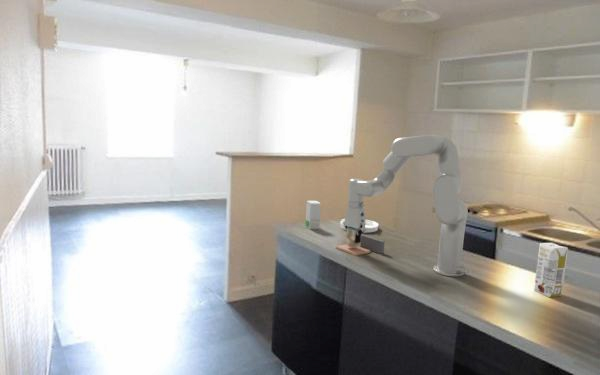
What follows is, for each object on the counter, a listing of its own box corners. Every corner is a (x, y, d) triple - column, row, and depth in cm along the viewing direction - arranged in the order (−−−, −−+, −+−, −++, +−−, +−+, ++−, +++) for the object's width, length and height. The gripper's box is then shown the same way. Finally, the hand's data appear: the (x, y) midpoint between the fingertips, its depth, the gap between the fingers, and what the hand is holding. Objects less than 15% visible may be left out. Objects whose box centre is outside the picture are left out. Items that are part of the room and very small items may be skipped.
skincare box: (305, 226, 255) (306, 200, 253) (315, 225, 257) (316, 200, 255) (309, 229, 247) (310, 203, 245) (320, 229, 249) (321, 202, 247)
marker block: (360, 246, 208) (361, 228, 207) (353, 247, 205) (354, 229, 204) (353, 243, 212) (354, 226, 211) (345, 245, 209) (347, 227, 208)
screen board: (383, 253, 206) (384, 241, 205) (380, 253, 205) (381, 241, 204) (351, 242, 223) (352, 231, 223) (348, 242, 222) (349, 231, 221)
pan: (359, 222, 273) (360, 216, 272) (390, 232, 250) (391, 225, 250) (329, 225, 259) (329, 219, 259) (358, 236, 237) (359, 229, 237)
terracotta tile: (370, 252, 206) (370, 250, 206) (355, 255, 200) (355, 253, 200) (350, 245, 217) (350, 243, 217) (335, 248, 211) (335, 246, 211)
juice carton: (548, 298, 158) (555, 248, 155) (530, 289, 166) (536, 242, 163) (564, 297, 160) (571, 248, 157) (545, 288, 168) (552, 241, 165)
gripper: (374, 207, 201) (371, 244, 204) (349, 201, 214) (346, 236, 217) (362, 208, 197) (360, 246, 199) (337, 202, 210) (336, 238, 212)
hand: (353, 240), depth 208 cm, fingers closed on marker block, 4 cm apart
